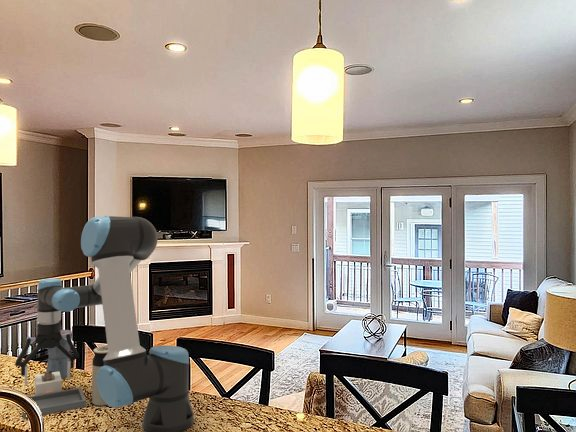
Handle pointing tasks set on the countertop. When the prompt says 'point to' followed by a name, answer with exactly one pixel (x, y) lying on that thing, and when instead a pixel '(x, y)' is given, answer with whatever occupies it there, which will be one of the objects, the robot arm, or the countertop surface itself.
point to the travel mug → (97, 364)
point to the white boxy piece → (48, 384)
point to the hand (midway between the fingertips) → (47, 381)
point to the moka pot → (59, 357)
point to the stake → (48, 376)
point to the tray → (59, 401)
